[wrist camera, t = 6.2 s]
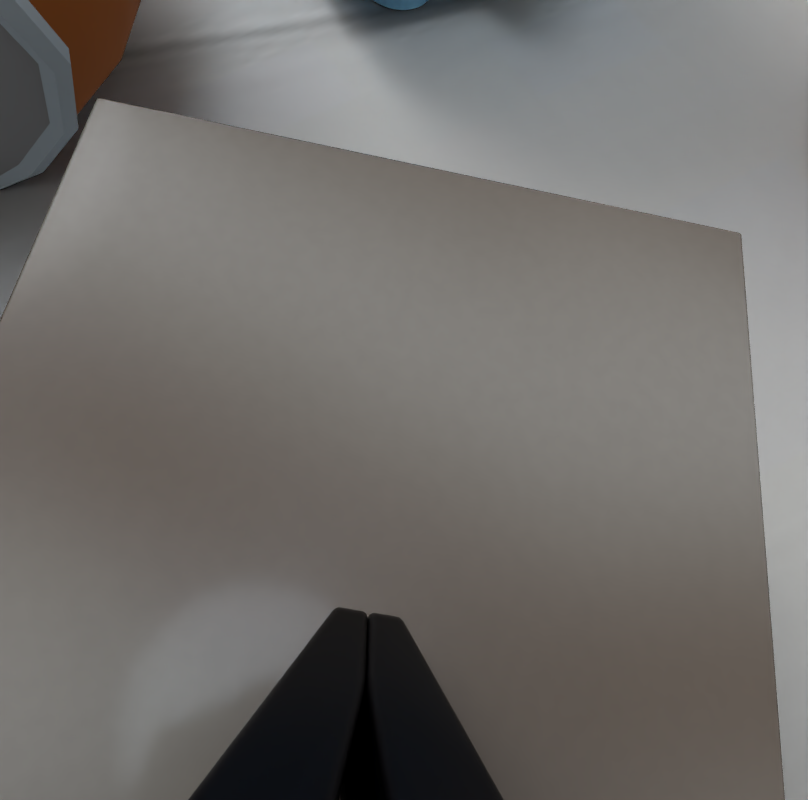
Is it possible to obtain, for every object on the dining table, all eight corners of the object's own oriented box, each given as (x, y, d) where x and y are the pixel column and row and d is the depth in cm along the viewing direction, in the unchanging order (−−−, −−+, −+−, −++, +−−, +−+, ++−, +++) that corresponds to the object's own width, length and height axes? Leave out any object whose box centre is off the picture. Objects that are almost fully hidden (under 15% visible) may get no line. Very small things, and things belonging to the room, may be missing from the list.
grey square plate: (108, 130, 12) (96, 95, 11) (717, 257, 13) (741, 232, 12) (-304, 1123, 7) (-377, 1175, 6) (774, 1225, 8) (824, 1282, 7)
